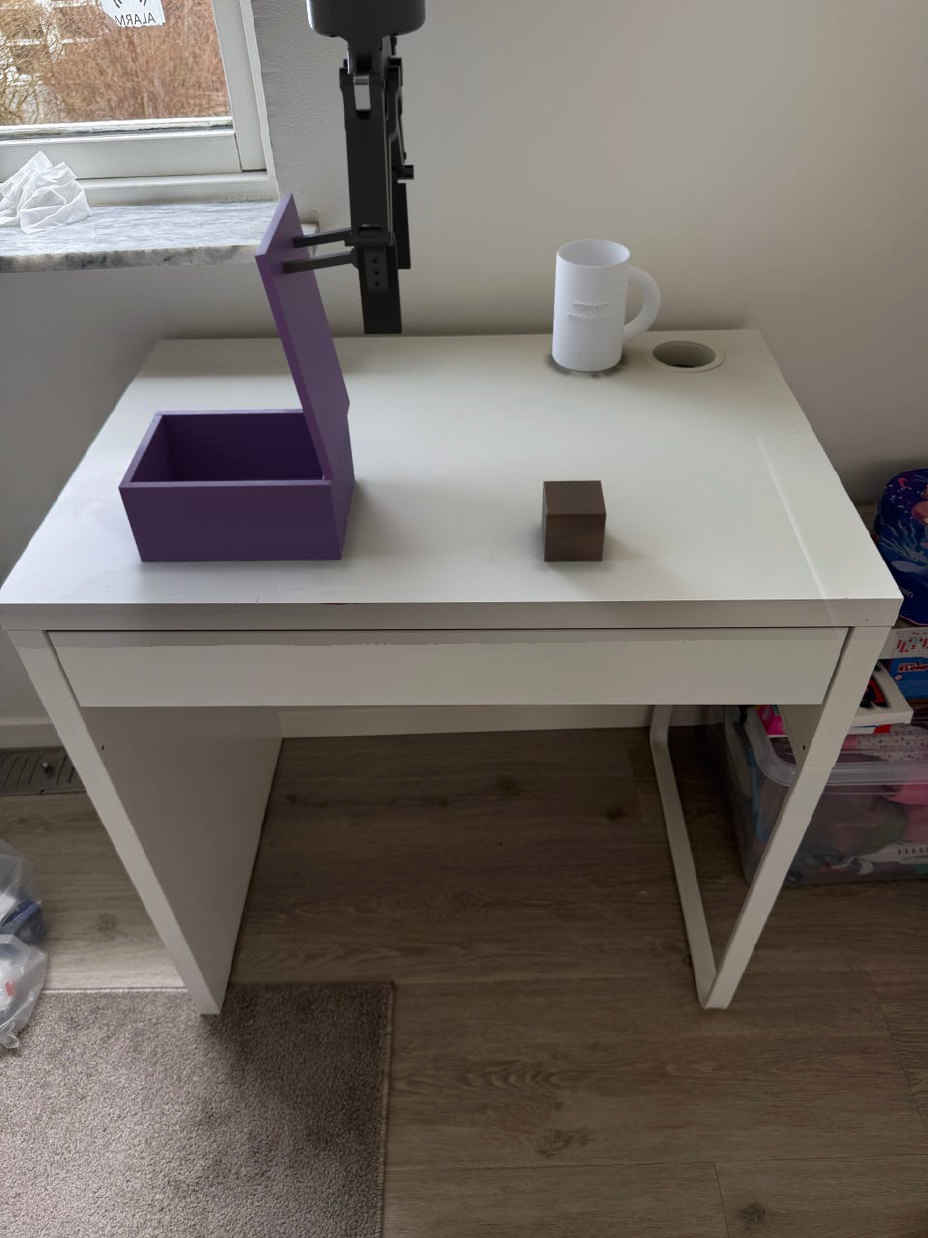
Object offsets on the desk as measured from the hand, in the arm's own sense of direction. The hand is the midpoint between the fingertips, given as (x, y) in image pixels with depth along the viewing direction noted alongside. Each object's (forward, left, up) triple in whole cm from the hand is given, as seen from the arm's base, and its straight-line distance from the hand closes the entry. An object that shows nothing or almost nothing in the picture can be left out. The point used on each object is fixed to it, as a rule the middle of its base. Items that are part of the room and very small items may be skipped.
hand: (389, 298), depth 73 cm
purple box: (-13, -6, -21) cm, 25 cm away
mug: (+5, +38, -21) cm, 43 cm away
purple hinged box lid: (-6, -3, -3) cm, 8 cm away
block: (+15, +3, -21) cm, 26 cm away
